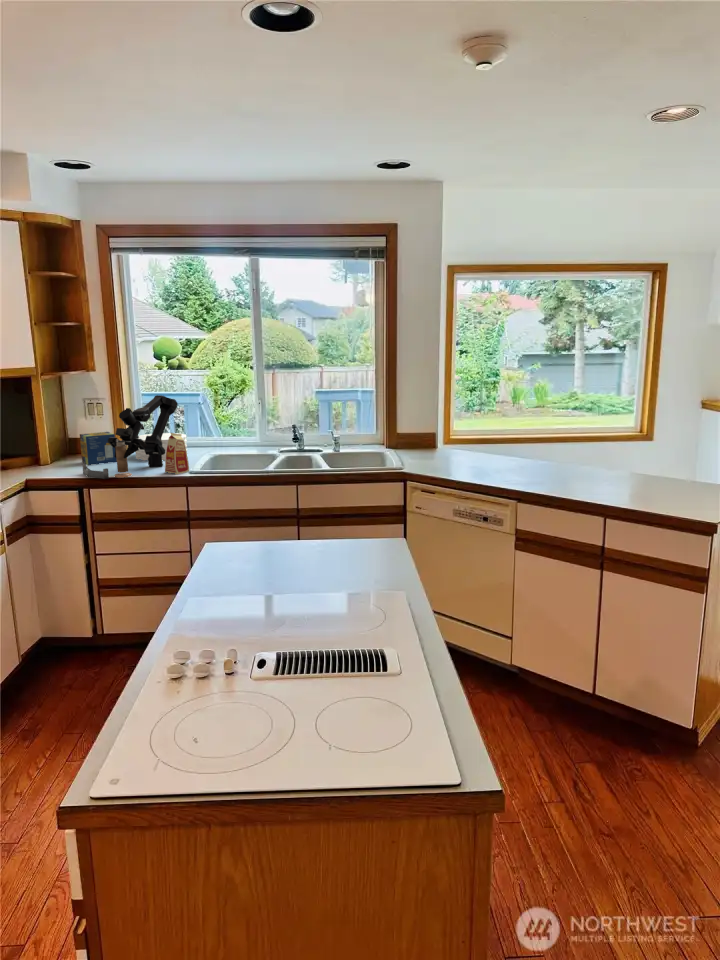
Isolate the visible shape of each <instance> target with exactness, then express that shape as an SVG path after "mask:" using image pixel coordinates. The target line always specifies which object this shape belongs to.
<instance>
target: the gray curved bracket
mask: <svg viewBox="0 0 720 960" xmlns="http://www.w3.org/2000/svg"><path fill="white" fill-rule="evenodd" d="M82 474H83V475H84V476H86V475H87V476H88V478H94V479H103V480H106V479H107V480H108V479H110V478H109V477H110V476H109V468H106V467H105V468H103V469H102V471H101V470H94V469H93V470H91V468H88V465H87V464H85V463H83V464H82ZM87 476H86V477H87Z"/></svg>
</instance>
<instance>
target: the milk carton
mask: <svg viewBox="0 0 720 960" xmlns="http://www.w3.org/2000/svg"><path fill="white" fill-rule="evenodd" d="M170 433H171V436H170V437H169V439H168V445H167V451H166V460H164V462H165V463H164V464H165V465H164V473H166V472H168V473H167V474H171V473H175V474H174V475H181V474H185V473H188V471H189V472H190V464H189V457H188V456H187V453H188V450H187V451H186V448H187V447H186V446H185V442H184V439H183V438H182V437H181V435H182V434H183V433H179V434H175V433H176V432H170ZM180 473H181V474H180Z"/></svg>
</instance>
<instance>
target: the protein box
mask: <svg viewBox="0 0 720 960" xmlns="http://www.w3.org/2000/svg"><path fill="white" fill-rule="evenodd" d="M115 434H116V433H112V432H110V431H101V432H91V433H80V434H79V442H80V443H79V444H80V451H81V462H83V464H87V466H92V465H91V464H96V465H100V464H99V463H104V464H109V463H108V462H113V463H117V458H115V448H113V447H112V446H111V445H110V444H109V443H108V442H107V441H108V439H109V438H110V437H116V435H115Z"/></svg>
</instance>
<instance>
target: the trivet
mask: <svg viewBox="0 0 720 960" xmlns="http://www.w3.org/2000/svg"><path fill="white" fill-rule="evenodd" d="M131 475H132V476H133V474H132V473H131V472H122V473H120V472H117V473H115V474H114V475H113V477H114V476H115V477H114V478H116V479H117V478H118V479H121V478H122V479H123V478H124V477H125V478H129V477H128V476H131ZM132 476H131V477H132ZM125 478H124V479H125Z"/></svg>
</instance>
